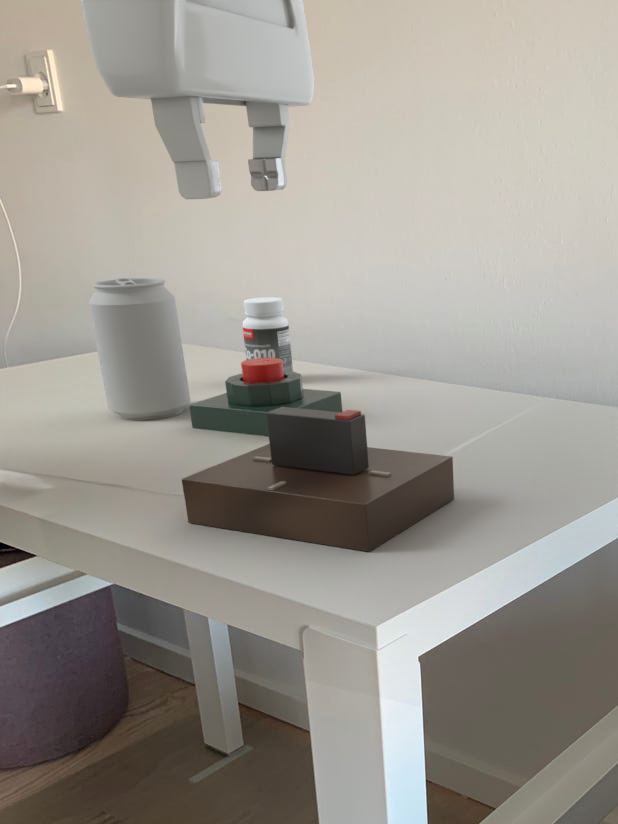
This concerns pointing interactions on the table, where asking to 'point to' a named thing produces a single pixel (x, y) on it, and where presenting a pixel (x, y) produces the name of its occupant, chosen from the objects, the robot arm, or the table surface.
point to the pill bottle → (267, 330)
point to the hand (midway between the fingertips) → (238, 194)
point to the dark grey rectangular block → (318, 440)
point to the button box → (258, 404)
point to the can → (139, 348)
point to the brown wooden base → (321, 497)
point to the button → (262, 370)
